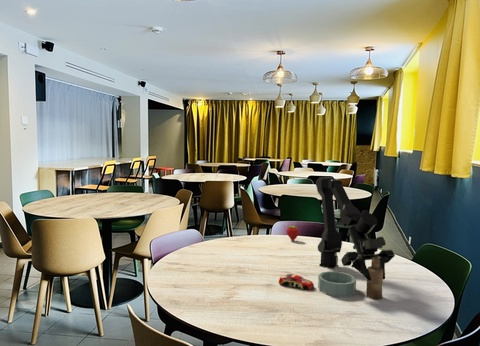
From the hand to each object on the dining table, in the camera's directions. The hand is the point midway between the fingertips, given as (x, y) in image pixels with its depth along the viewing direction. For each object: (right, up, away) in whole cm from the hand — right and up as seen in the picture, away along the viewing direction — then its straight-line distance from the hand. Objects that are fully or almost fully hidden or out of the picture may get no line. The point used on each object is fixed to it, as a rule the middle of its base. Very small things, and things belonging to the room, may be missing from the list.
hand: (377, 279), depth 125 cm
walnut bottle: (0, -6, +2) cm, 7 cm away
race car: (-27, -6, +11) cm, 29 cm away
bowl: (-12, -6, +8) cm, 15 cm away
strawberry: (-18, -1, +76) cm, 78 cm away
